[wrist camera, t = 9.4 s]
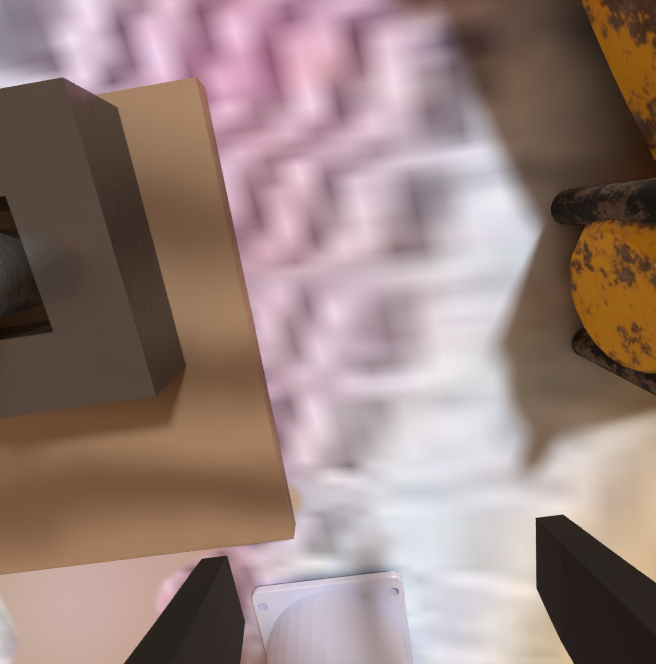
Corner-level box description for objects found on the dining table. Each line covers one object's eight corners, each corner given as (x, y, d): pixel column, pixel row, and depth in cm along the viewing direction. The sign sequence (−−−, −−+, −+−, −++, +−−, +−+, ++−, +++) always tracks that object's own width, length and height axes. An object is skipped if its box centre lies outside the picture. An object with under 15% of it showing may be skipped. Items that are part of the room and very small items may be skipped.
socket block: (186, 366, 17) (156, 396, 14) (-37, 398, 17) (-111, 434, 14) (117, 107, 14) (62, 77, 11) (-144, 152, 14) (-262, 135, 12)
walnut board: (295, 523, 20) (293, 538, 19) (-3, 560, 21) (-19, 577, 20) (204, 86, 15) (195, 77, 14) (-192, 155, 15) (-227, 151, 14)
